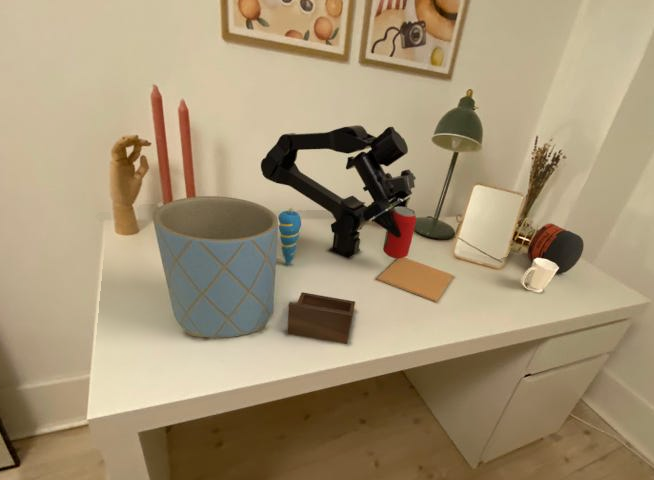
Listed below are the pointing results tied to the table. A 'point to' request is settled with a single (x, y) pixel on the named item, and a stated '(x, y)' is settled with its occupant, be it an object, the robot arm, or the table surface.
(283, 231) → the ornament
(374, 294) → the table surface
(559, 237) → the oil filter
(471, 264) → the table surface
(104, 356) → the table surface
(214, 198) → the planter
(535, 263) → the cup
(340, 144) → the robot arm
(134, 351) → the table surface
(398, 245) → the beverage can
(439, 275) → the placemat
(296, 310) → the open wooden box
